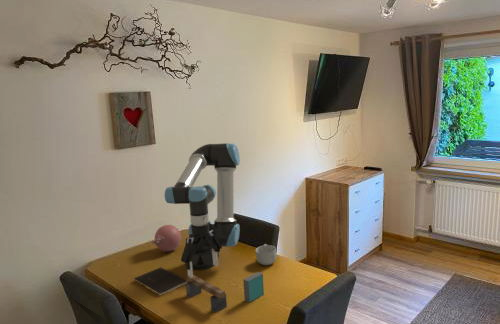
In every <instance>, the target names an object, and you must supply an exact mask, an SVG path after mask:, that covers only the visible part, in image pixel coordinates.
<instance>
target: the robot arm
mask: <svg viewBox="0 0 500 324" xmlns="http://www.w3.org/2000/svg"><path fill="white" fill-rule="evenodd" d="M240 161H241V159H240V152H239V148H238V146H237V145H236V144H234V143H207V144H204V145H201V146H199V147H198V148H197V149H196V150H194V151H193V152H192V153H191V155H190V156H189V158H188V163H187V165H186V167H185V169H183V171H182V172H181V174H180V176H179V178H178V180H177V182H176V183H175V185H174V186H168V187H166V188H165V190H164V200H165V202H166V203H167V204H174V205H177V204H178V205H181V204H182V205H184V204H188V205H189V216H190V217H189V218H190V225H189V226H188V237H186V238H185V245H184V249H183V252H182V255H181V258H180V262H183V263H185V269H186V270H187V275H188V276H190V277H193V275H194V272H193V270H198V271H200V270H201V271H202V270H207V269H210V268H213V267H219V257H220V252H221V250H222V249H223V247H226V248H228V247H230V248H231V247H235V246H236V245H237V244H238V242H239V239H240V232H241V231H240V230H241V228H240V224H239V223H237V219H235V217H234V172H235V171H236V170H237V166H239V165H240ZM210 166H213V167H214V170H215V171H216V173H217V174H216V175H217V176H216V179H217V180H216V181H217V184H216V185H217V186H216V188H217V191H216V189H215V188H214V186H212V185H210V184H205V185H201V186H194V185H195V183H196V181H197V179H198V177H199V176H200V174H201V172H202V170H204V169H206V167H210ZM215 198H217V199H216V207H217V209H216V218H215V219H214V221H213V223H211V221H210V220H209V204H210V203H211V202H213V200H214V199H215Z"/></svg>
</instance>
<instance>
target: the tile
mask: <svg viewBox="0 0 500 324" xmlns="http://www.w3.org/2000/svg"><path fill="white" fill-rule="evenodd" d="M263 274H264V273H262V272H259V271H256V272H255V273H253V274H251V275H248V276H247V277H245V278H243V280H242V281H243V295H244V296H243V297H244V301H245V302H247V303H252V302H253V301H256V300H257V299H259V298H260V297H263V296H264V294H265V293H264V292H265V290H264V289H265V288H264V275H263Z"/></svg>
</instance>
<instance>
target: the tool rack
mask: <svg viewBox="0 0 500 324" xmlns="http://www.w3.org/2000/svg"><path fill="white" fill-rule="evenodd" d="M185 290H186V296H187V297H188V298H190V299H191V298H194V297H196V296H198V295H199V294H201V293H202V289H201V288H199V287H197V286H196V285H194V284H192V283H190V282H188V283H186V284H185ZM227 302H228V301H227V294H226V293H225V297H223V298H221V299H219V298H218V297H216V296H214V295H211V296H210V309H211V311H212V312H214V313H215V314H216V313H218V312H220V311H222V310H224V309H225V308H227V307H228V304H227Z"/></svg>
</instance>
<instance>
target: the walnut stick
mask: <svg viewBox="0 0 500 324" xmlns="http://www.w3.org/2000/svg"><path fill="white" fill-rule="evenodd" d="M186 280H187V281H188V282H190V283H192V284H194V285H196V286H197V287H199V288H201V290H203V291H204V292H207V293H209V294H210V295H211V296H213V295H214V296H216V297H218V298H219V299H221V298H223V297H225V294H226V293H225V292H226V291H225V290H223V289H221V288H219V287H218V286H215V285H213V284H211V283H210V282H208V281H206V280H204V279H202V278H200V277H198V276H197V275H194V274H193V277H190V276H188V274H187V275H186Z"/></svg>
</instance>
